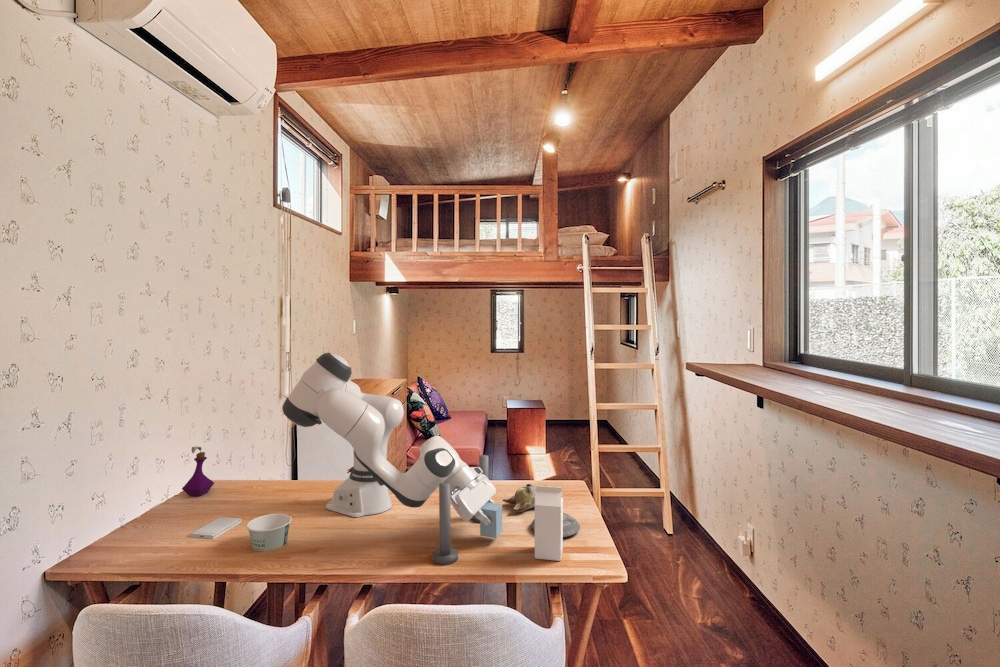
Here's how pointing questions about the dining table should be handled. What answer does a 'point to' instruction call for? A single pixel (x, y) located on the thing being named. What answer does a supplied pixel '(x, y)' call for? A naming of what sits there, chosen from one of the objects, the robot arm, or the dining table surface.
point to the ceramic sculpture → (523, 498)
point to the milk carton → (548, 523)
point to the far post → (484, 467)
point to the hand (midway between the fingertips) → (493, 518)
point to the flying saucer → (566, 525)
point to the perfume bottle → (198, 477)
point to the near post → (444, 529)
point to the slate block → (496, 516)
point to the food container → (269, 531)
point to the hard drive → (216, 527)
